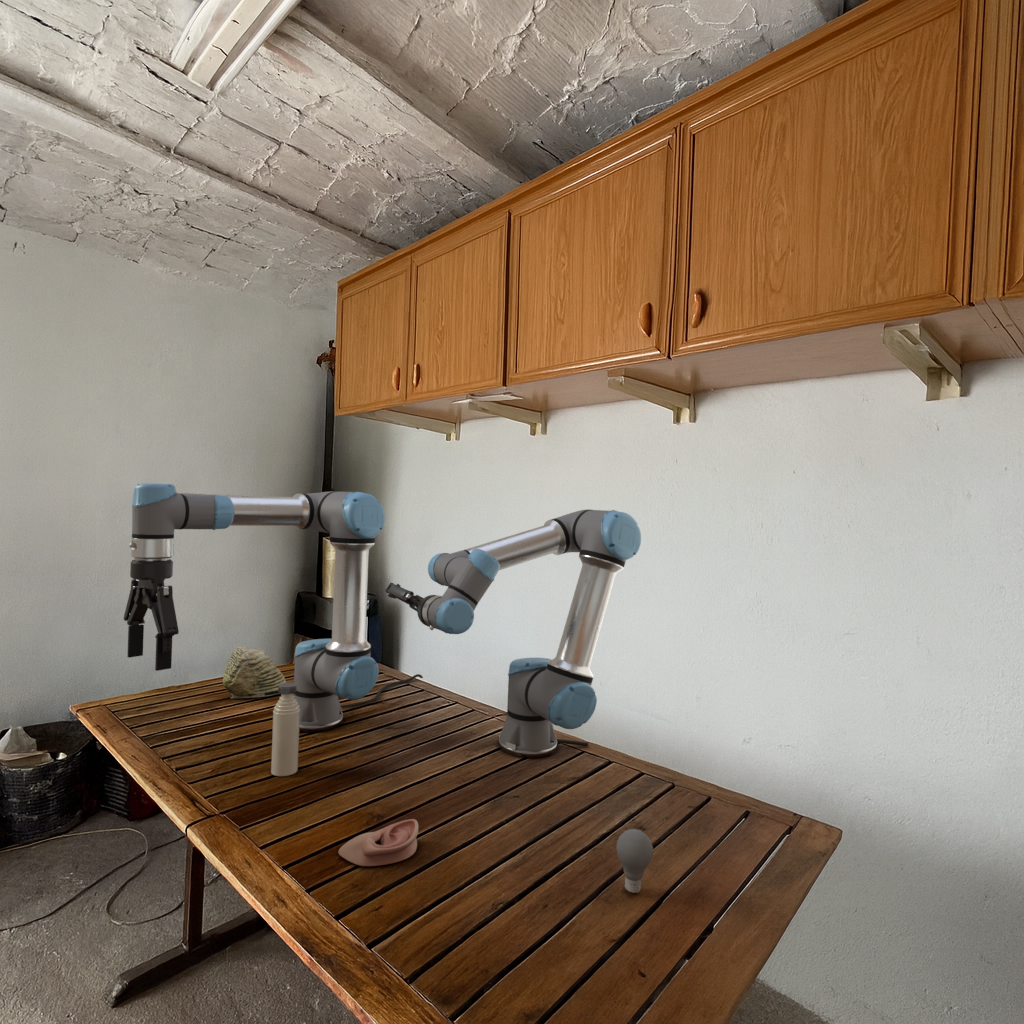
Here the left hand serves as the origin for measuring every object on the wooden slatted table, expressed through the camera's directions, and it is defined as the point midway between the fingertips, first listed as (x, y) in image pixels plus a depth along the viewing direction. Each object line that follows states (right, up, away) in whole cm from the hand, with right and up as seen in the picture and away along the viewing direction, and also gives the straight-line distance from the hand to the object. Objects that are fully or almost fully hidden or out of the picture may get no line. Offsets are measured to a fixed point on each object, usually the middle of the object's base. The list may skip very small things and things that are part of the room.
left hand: (148, 662), depth 129 cm
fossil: (-6, -27, +69) cm, 74 cm away
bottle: (+22, -29, +16) cm, 40 cm away
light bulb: (+94, -33, -24) cm, 103 cm away
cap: (+23, -9, +16) cm, 29 cm away
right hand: (+48, +6, +36) cm, 61 cm away
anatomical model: (+50, -31, -15) cm, 61 cm away
